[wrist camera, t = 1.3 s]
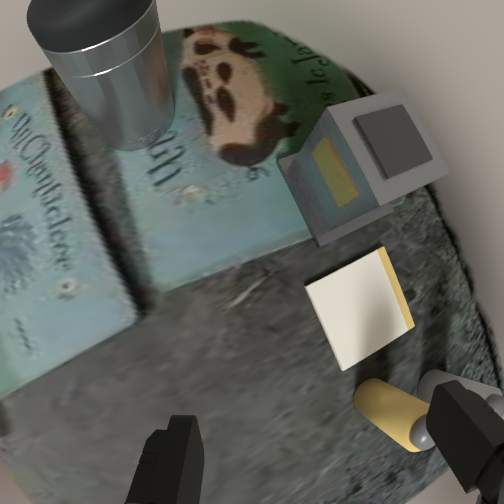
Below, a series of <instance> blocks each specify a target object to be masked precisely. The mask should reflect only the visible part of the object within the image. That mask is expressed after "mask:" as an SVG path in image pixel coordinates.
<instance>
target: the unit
mask: <svg viewBox="0 0 504 504" xmlns="http://www.w3.org/2000/svg"><path fill="white" fill-rule="evenodd" d="M277 165H278V167H279V169H280V171H281V173H282V175H283V177H284V179H285V181H286V183H287V185H288V187H289V189H290V191H291V193H292V195H293V197H294V199H295V201H296V204H297V206H298V208H299V210H300V212H301V214H302V216H303V218H304V220H305V222H306V224H307V227H308V229H309V231H310V233H311V235H312V237H313V239H314V241H315V244H316V246H317V248H319V247H321V246H323V245H325V244H327V243H330V242H332V241H334V240H336V239H338V238H340V237H342V236H344V235H346V234H348V233H350V232H352V231H354V230H356V229H358V228H360V227H363V226H365V225H367V224H369V223H371V222H373V221H375V220H377V219H379V218H381V217H383V216H385V215H387V214H389V213H391V212H393V211H394V210H393V208H392V206H391V204H390V203H391V202H393V201H395V200H397V199H399V198H401V197H403V196H405V195H407V194H409V193H411V192H413V191H415V190H417V189H419V188H421V187H423V186H425V185H427V184H429V183H431V182H433V181H435V180H437V179H439V178H441V177H443V176H444V175H447V174H448V173H450V172H449V170H448V168H447V166H446V163H445V161H444V159H443V157H442V156H441V153H440V152H439V150H438V148H437V146H436V144H435V142H434V140H433V138H432V137H431V135H430V133H429V131H428V129H427V128H426V126H425V124H424V122H423V121H422V119H421V117H420V116H419V114H418V112H417V110H416V109H415V107H414V106H413V104H412V102H411V101H410V99H409V98H408V96H407V94H406V93H405V91H404V90H403V89H398V90H394V91H389V92H385V93H381V94H376V95H372V96H368V97H364V98H360V99H356V100H352V101H348V102H344V103H340V104H337V105H333V106H329V107H327V108H326V109H325V111H324V113H323V114H322V116H321V117H320V119H319V120H318V122H317V124H316V125H315V127H314V128H313V130H312V132H311V133H310V135H309V136H308V138H307V140H306V141H305V143H304V144H303V146H302V148H301V149H300V151H299V152H298V153H295V154H292V155H290V156H287V157H284V158H282V159H279V160H278V161H277Z"/></svg>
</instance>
